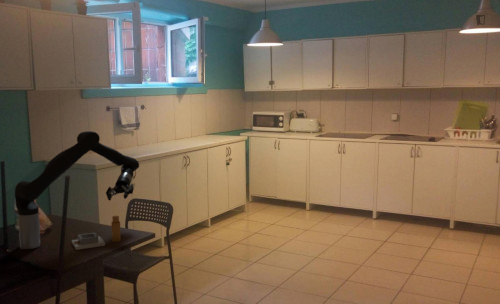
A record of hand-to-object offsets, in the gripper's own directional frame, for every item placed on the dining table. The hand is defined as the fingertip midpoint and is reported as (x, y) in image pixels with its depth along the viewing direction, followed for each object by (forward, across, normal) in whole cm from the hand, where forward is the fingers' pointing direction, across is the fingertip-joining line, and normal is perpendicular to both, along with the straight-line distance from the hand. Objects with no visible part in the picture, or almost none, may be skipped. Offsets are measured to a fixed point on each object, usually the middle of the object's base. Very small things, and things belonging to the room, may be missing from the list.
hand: (116, 198), depth 251 cm
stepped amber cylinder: (+14, -1, +17) cm, 22 cm away
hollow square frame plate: (+20, -14, +13) cm, 27 cm away
